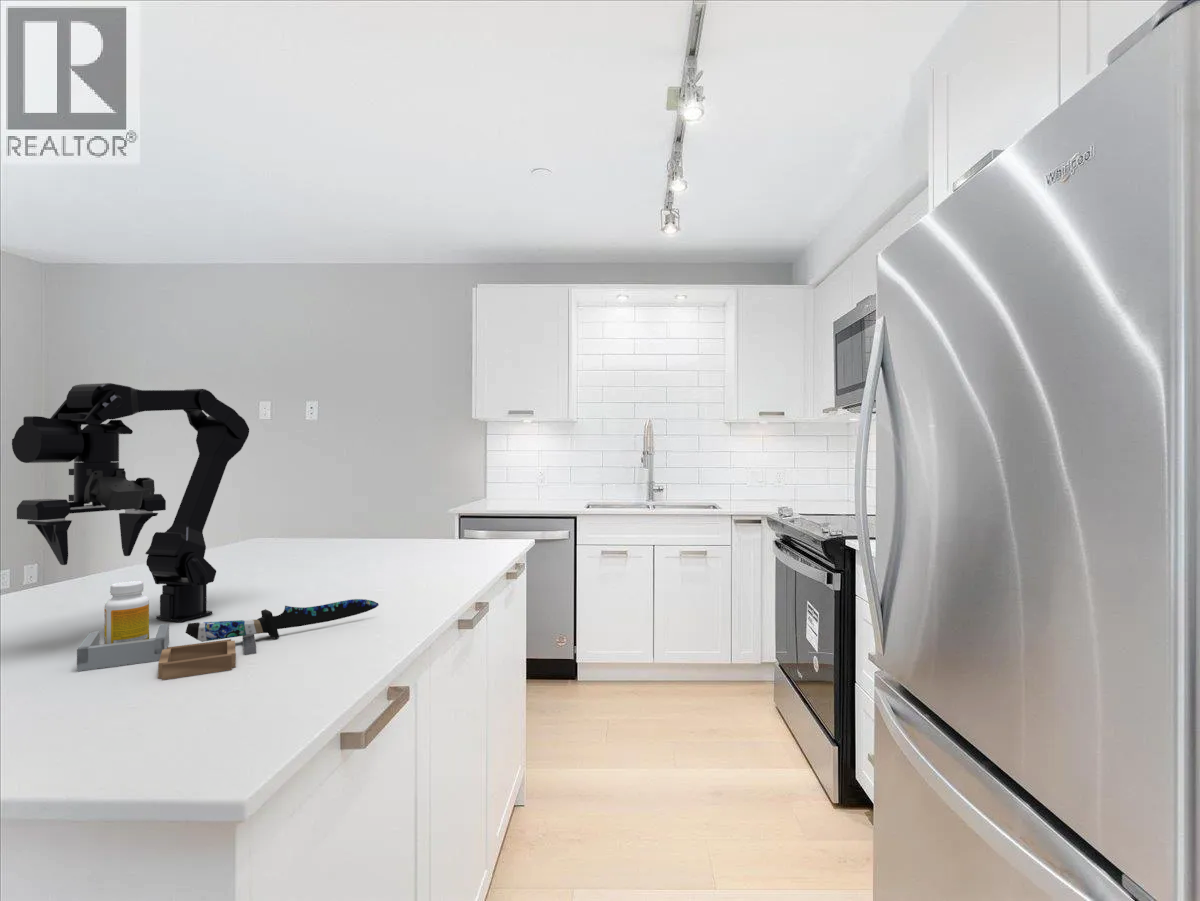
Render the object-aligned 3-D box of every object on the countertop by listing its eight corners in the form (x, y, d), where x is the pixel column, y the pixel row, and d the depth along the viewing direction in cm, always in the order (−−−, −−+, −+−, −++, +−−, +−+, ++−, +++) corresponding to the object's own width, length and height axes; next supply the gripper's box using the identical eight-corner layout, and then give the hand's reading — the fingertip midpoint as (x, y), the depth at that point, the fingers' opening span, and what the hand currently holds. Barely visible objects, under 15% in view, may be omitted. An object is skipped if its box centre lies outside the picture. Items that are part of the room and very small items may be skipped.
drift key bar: (242, 641, 104) (242, 635, 104) (253, 639, 104) (253, 633, 104) (243, 654, 97) (244, 647, 97) (256, 653, 98) (256, 646, 98)
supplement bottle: (157, 645, 98) (158, 581, 98) (121, 656, 93) (121, 588, 93) (132, 642, 100) (132, 578, 100) (95, 652, 95) (95, 585, 95)
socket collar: (163, 661, 93) (163, 647, 93) (234, 652, 98) (234, 638, 98) (157, 680, 86) (157, 665, 86) (235, 669, 90) (235, 654, 90)
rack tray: (89, 652, 98) (89, 632, 98) (169, 642, 103) (169, 623, 103) (76, 671, 89) (76, 649, 89) (164, 659, 94) (164, 639, 94)
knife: (186, 653, 96) (187, 623, 96) (182, 648, 99) (183, 619, 99) (384, 622, 117) (385, 597, 117) (377, 618, 119) (378, 594, 119)
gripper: (61, 463, 92) (60, 573, 92) (188, 461, 109) (188, 554, 109) (14, 463, 96) (14, 568, 96) (144, 461, 113) (143, 551, 113)
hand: (96, 560), depth 103 cm, fingers open, 9 cm apart
